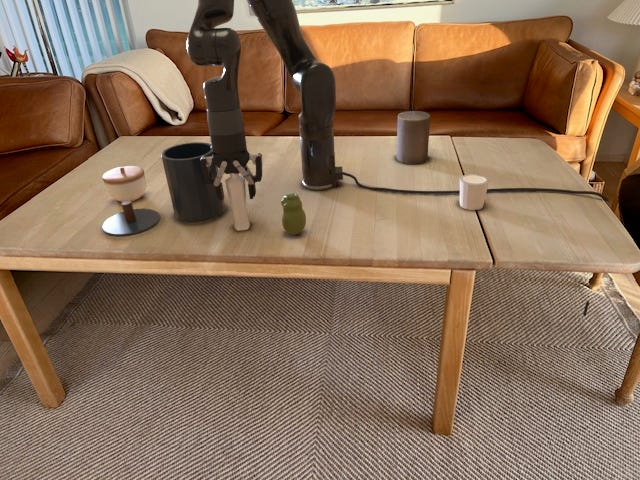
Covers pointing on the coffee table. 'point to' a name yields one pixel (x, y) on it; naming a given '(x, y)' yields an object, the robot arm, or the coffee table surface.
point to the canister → (191, 182)
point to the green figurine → (293, 214)
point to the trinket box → (125, 183)
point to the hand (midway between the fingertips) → (237, 198)
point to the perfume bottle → (238, 200)
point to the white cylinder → (473, 191)
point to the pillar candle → (413, 137)
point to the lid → (130, 221)
